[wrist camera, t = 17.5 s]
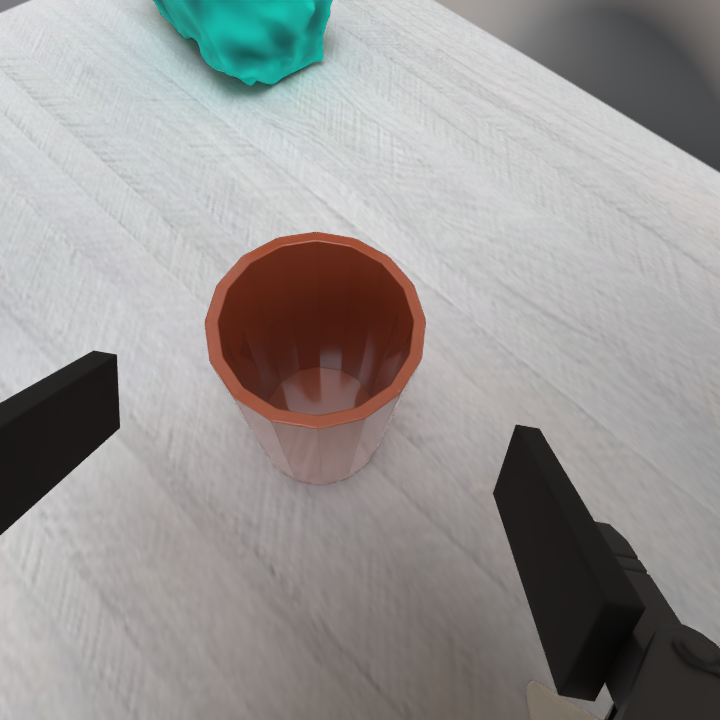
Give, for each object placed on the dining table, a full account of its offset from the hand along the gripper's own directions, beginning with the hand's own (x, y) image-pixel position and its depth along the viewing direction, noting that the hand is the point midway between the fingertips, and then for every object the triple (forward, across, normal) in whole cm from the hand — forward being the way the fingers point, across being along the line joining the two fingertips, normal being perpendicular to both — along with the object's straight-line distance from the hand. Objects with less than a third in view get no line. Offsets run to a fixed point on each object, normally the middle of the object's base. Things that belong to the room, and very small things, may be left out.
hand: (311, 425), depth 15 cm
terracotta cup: (+9, 0, -5) cm, 10 cm away
